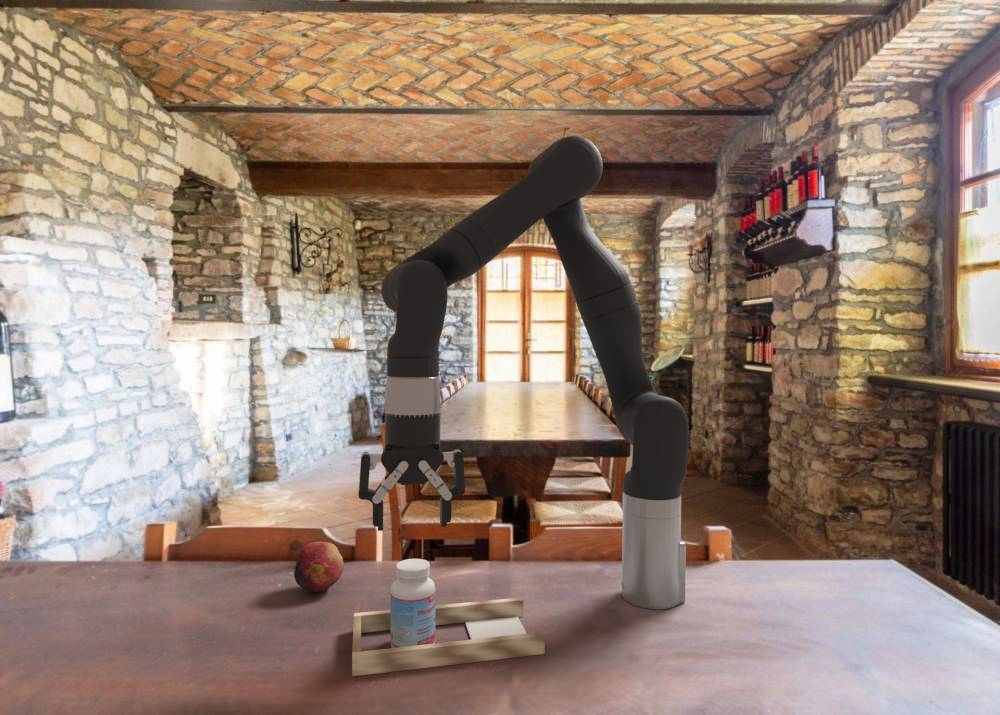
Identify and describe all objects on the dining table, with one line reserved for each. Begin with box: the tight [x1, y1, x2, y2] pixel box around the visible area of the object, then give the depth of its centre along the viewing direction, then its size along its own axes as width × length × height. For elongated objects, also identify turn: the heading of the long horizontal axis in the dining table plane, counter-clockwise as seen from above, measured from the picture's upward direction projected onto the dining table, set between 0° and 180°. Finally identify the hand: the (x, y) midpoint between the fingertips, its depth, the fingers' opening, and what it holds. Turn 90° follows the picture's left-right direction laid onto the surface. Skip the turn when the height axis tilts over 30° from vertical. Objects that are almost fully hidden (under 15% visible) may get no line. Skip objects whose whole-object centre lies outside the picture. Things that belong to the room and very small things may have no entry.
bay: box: [351, 596, 546, 677], centre depth 82 cm, size 25×12×2 cm, turn 103°
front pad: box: [464, 617, 527, 640], centre depth 84 cm, size 8×9×1 cm
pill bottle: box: [390, 558, 436, 648], centre depth 81 cm, size 6×6×11 cm
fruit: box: [293, 541, 345, 593], centre depth 99 cm, size 8×8×8 cm
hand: (411, 527), depth 81 cm, fingers open, 8 cm apart
